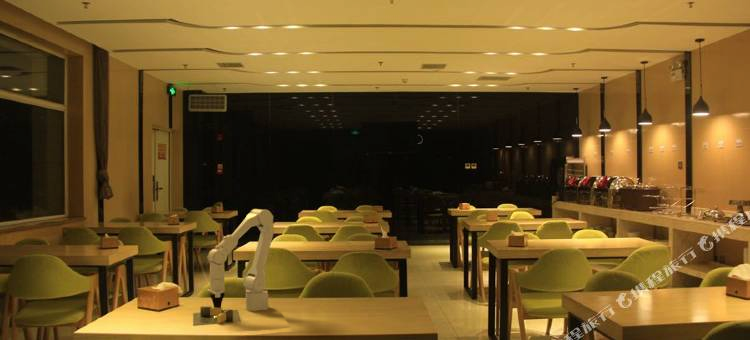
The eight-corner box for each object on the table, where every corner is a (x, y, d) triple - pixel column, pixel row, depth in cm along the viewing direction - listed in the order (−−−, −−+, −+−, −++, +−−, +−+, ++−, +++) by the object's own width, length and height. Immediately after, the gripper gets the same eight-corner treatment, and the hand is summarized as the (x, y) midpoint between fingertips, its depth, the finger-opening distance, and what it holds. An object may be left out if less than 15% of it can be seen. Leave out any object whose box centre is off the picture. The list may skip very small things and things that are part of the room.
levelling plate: (237, 312, 247) (237, 308, 247) (241, 324, 226) (241, 320, 226) (193, 315, 242) (193, 311, 242) (193, 328, 221) (193, 324, 221)
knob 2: (225, 317, 233) (224, 308, 233) (235, 317, 232) (234, 308, 232) (213, 322, 224) (213, 313, 224) (223, 323, 223) (223, 314, 223)
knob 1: (198, 315, 236) (198, 307, 236) (204, 313, 240) (204, 304, 241) (218, 316, 234) (218, 308, 234) (224, 314, 238) (224, 305, 238)
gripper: (206, 276, 244) (207, 308, 244) (207, 282, 230) (207, 316, 230) (224, 275, 246) (224, 307, 246) (225, 281, 232) (225, 315, 232)
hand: (217, 311), depth 238 cm, fingers closed, pressing on knob 1
